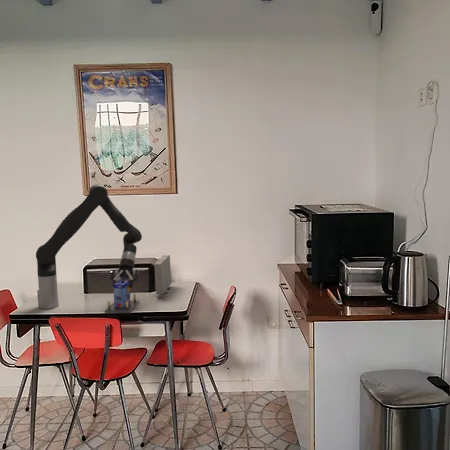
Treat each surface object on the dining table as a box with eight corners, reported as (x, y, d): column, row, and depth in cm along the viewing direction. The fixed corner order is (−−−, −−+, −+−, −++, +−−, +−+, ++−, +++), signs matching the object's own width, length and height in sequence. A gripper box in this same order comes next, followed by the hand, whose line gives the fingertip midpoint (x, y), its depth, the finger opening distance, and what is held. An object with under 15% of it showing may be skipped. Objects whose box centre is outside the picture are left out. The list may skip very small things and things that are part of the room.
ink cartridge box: (124, 308, 225) (122, 280, 224) (113, 307, 226) (112, 280, 225) (131, 302, 235) (130, 275, 233) (121, 302, 236) (120, 275, 234)
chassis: (104, 313, 223) (104, 302, 222) (115, 303, 239) (115, 293, 239) (130, 313, 222) (129, 302, 221) (139, 303, 238) (138, 293, 238)
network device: (166, 298, 247) (165, 263, 245) (151, 298, 248) (149, 263, 245) (174, 286, 272) (173, 254, 270) (160, 286, 273) (159, 254, 271)
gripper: (113, 257, 238) (106, 283, 228) (138, 257, 237) (133, 283, 227) (116, 265, 244) (110, 291, 234) (141, 265, 243) (137, 291, 233)
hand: (122, 287), depth 231 cm, fingers open, 8 cm apart
